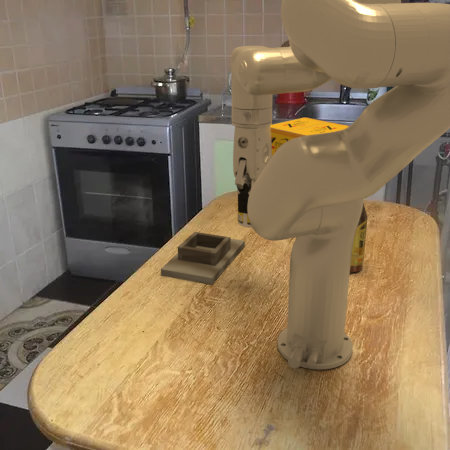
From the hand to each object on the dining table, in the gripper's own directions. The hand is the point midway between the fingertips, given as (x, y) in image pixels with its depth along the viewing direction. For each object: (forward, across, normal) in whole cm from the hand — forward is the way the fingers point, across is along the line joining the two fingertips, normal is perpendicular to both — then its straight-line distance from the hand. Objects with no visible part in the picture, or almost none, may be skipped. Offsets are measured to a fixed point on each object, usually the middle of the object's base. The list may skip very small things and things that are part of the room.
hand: (251, 206), depth 109 cm
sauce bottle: (+17, +14, -18) cm, 29 cm away
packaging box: (+17, +38, -2) cm, 42 cm away
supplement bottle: (+4, 0, 0) cm, 4 cm away
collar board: (+17, +6, +13) cm, 22 cm away
